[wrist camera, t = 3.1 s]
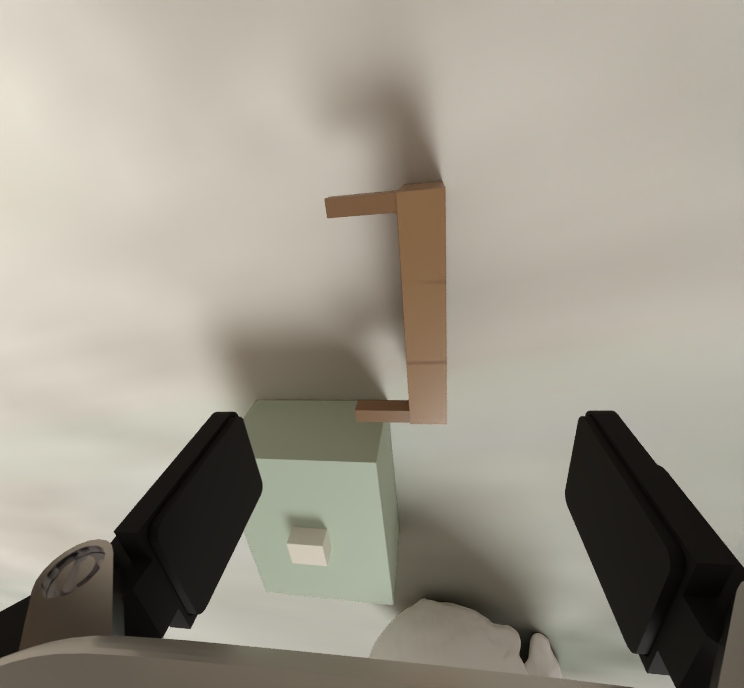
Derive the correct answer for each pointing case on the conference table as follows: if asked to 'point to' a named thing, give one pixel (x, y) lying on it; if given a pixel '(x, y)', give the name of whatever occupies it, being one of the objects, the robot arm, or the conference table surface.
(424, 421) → the wooden staple shape
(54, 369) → the conference table surface
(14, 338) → the conference table surface
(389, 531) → the pale green box
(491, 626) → the skull planter
